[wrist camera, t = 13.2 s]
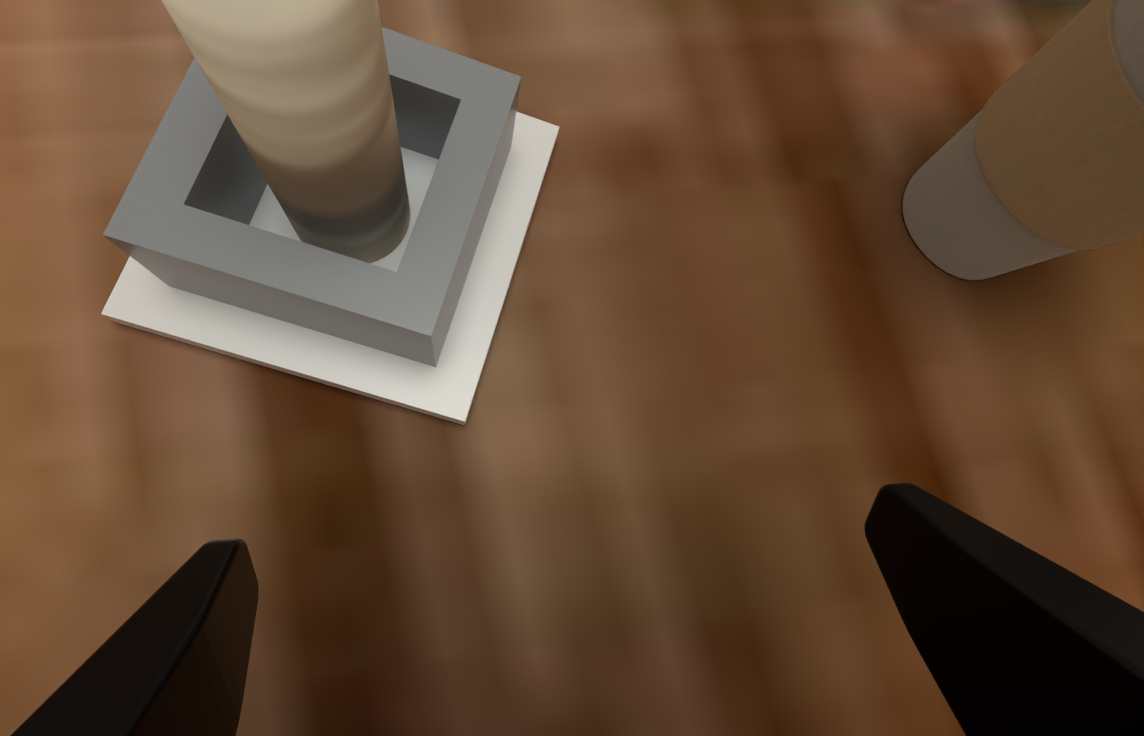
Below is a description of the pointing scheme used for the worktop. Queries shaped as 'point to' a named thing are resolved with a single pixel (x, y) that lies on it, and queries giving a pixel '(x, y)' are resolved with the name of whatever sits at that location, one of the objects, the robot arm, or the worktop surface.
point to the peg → (310, 111)
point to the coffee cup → (1043, 156)
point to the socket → (327, 279)
